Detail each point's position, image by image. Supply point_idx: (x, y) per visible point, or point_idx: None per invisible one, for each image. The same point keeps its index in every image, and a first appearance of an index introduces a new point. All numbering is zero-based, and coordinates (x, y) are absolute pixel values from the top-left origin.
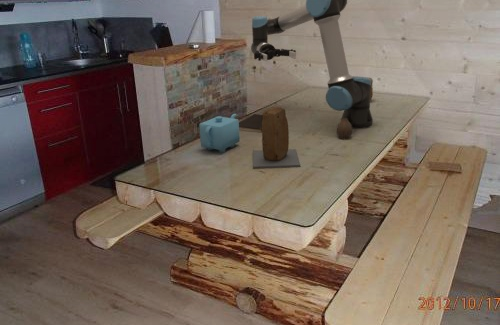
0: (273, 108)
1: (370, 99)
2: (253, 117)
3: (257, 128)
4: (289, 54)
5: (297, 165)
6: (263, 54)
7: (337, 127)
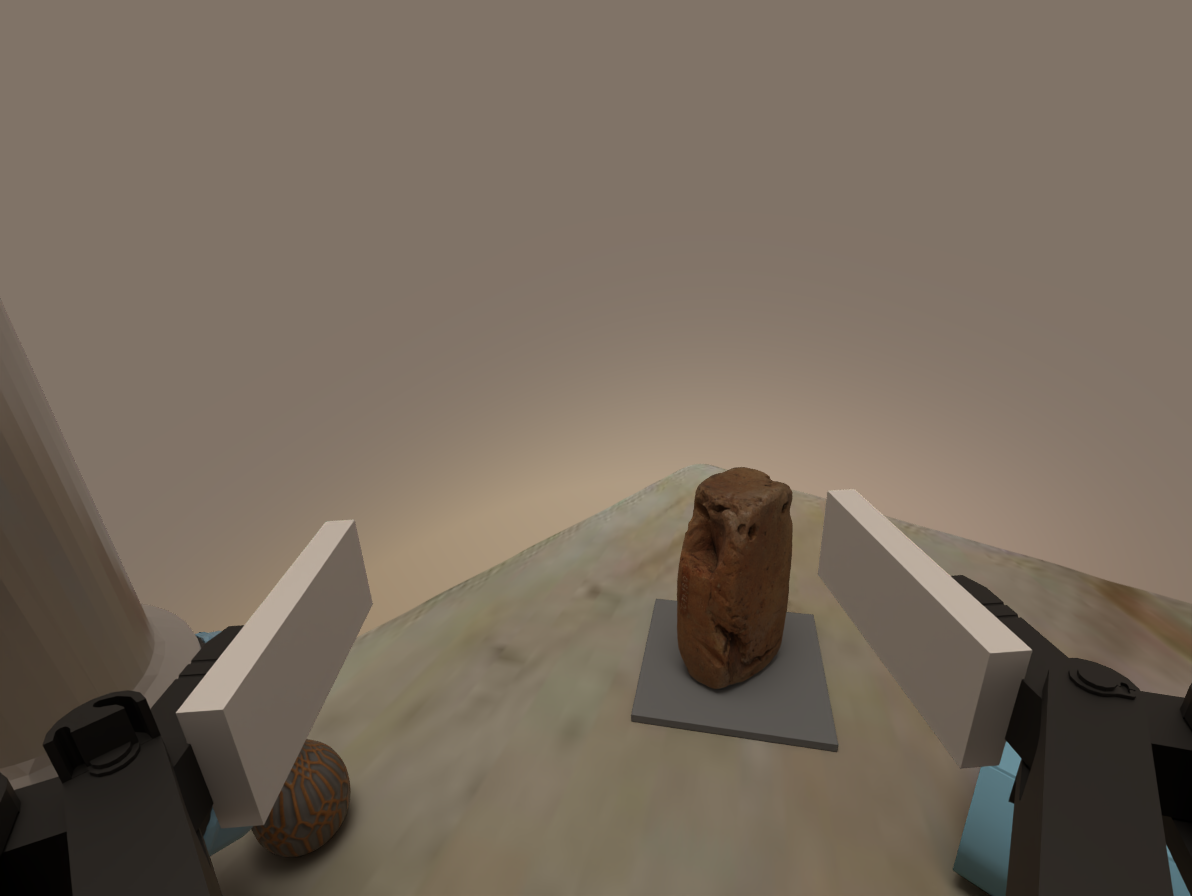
0: (745, 492)
1: None
2: None
3: None
4: (258, 761)
5: (665, 601)
6: (913, 548)
7: (337, 783)
